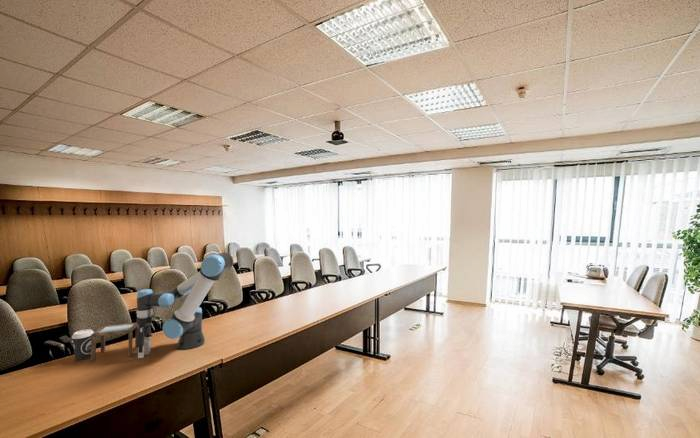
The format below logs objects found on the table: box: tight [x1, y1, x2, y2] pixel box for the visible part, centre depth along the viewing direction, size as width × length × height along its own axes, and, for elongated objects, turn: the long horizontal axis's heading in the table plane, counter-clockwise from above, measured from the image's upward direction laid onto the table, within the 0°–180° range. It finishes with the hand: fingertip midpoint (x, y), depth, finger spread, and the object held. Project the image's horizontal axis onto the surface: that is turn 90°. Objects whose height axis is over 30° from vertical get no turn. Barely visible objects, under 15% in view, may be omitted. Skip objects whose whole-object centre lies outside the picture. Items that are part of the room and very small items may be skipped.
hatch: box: [99, 324, 134, 333], centre depth 171 cm, size 14×11×1 cm
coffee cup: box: [71, 328, 95, 362], centre depth 166 cm, size 10×10×15 cm
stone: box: [144, 338, 152, 356], centre depth 172 cm, size 5×5×7 cm
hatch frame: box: [90, 322, 140, 363], centre depth 171 cm, size 18×14×15 cm
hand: (144, 352), depth 172 cm, fingers open, 12 cm apart
